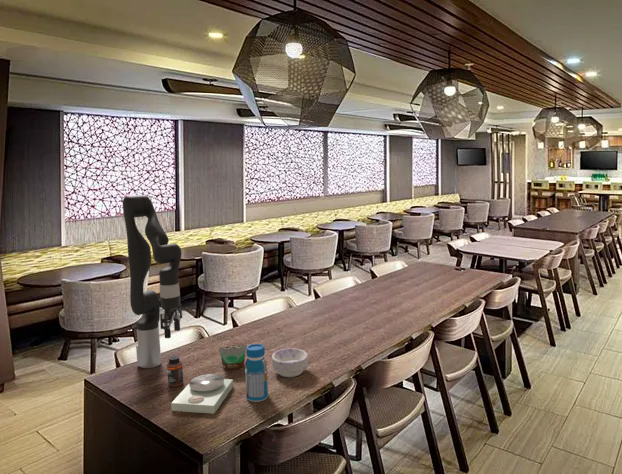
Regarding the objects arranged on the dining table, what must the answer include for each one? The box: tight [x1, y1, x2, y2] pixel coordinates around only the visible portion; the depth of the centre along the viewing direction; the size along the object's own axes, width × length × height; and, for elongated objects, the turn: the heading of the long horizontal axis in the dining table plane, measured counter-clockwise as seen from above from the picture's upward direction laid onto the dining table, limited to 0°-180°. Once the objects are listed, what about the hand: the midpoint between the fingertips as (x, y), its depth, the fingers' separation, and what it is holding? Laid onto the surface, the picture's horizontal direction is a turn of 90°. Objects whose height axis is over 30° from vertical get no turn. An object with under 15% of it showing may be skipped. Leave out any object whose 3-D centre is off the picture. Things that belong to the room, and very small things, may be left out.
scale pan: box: [188, 373, 225, 392], centre depth 181 cm, size 13×13×2 cm
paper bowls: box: [271, 347, 309, 378], centre depth 198 cm, size 15×15×8 cm
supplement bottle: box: [166, 355, 184, 388], centre depth 190 cm, size 6×6×11 cm
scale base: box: [170, 378, 234, 415], centre depth 178 cm, size 16×21×4 cm
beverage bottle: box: [244, 343, 269, 403], centre depth 176 cm, size 8×8×20 cm
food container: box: [218, 342, 248, 372], centre depth 203 cm, size 12×6×10 cm, turn 105°
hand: (172, 334), depth 187 cm, fingers open, 8 cm apart
